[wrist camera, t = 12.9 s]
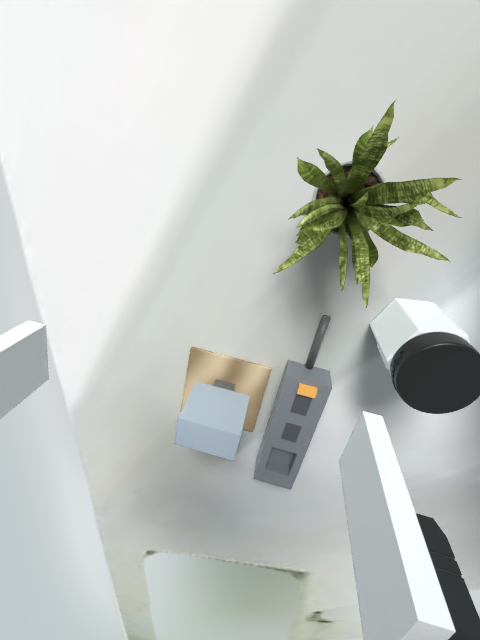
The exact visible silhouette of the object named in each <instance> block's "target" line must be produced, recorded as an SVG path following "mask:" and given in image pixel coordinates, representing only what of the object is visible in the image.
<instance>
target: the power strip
mask: <svg viewBox="0 0 480 640" xmlns="http://www.w3.org/2000/svg"><path fill="white" fill-rule="evenodd" d="M329 321H330V317H329V316H327V315H323V317H322V320H321V323H320V326H319V329H318V332H317V334H316V337H315V340H314V343H313V346H312V349H311V352H310V355H309V357H308V360H307V363H306V365H305V364H301V363H297V362H293V361H290V360H288V362H287V365H286V368H285V372H284V375H283V378H282V381H281V384H280V387H279V390H278V394H277V397H276V400H275V403H274V406H273V409H272V412H271V416H270V419H269V422H268V425H267V428H266V431H265V434H264V438H263V441H262V444H261V447H260V450H259V453H258V456H257V460H256V467H255V474H254V479H256V480H259V481H263V482H266V483H270V484H273V485H277V486H280V487H284V488H287V489H291V488H292V486H293V483H294V481H295V479H296V476H297V474H298V471H299V469H300V466H301V464H302V461H303V459H304V456H305V454H306V451H307V449H308V446H309V444H310V441H311V439H312V436H313V434H314V431H315V429H316V426H317V424H318V421H319V419H320V416H321V414H322V412H323V409H324V407H325V404H326V402H327V399H328V397H329V394H330V392H331V389H332V384H331V377H330V371H327V370H324V369H320V368H316V367H313V365H314V363H315V360H316V357H317V354H318V352H319V349H320V346H321V343H322V340H323V338H324V335H325V332H326V329H327V327H328V324H329Z"/></svg>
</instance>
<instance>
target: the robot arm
mask: <svg viewBox="0 0 480 640" xmlns="http://www.w3.org/2000/svg"><path fill="white" fill-rule="evenodd" d="M48 379H49V375H48V358H47V338H46V325H44V324H41V323H37V322H33V321H29V320H28V321H26V322H24V323H22V324H21V325H19V326H17V327H15V328H14V329H11V330H10V331H8V332H6V333H4V334H2V335H0V419H1V418H2V417H3V416H4V415H6V414H7V413H8V412H9V411H11V410H12V409H13V408H14V407H15V406H17V405H18V404H19V403H20V402H22V401H23V400H24V399H25V398H26V397H28V396H29V395H30V394H31V393H32V392H33V391H35V390H36V389H37V388H38V387H40V386H41V385H42V384H43V383H44V382H46V381H47V380H48ZM339 464H340V471H341V479H342V486H343V493H344V501H345V508H346V515H347V522H348V530H349V537H350V544H351V551H352V559H353V566H354V573H355V581H356V588H357V595H358V602H359V610H360V617H361V624H362V631H363V639H364V640H480V619H479V616H478V614H477V611H476V609H475V606H474V604H473V601H472V599H471V596H470V594H469V591H468V589H467V586H466V584H465V581H464V579H463V578H461V575H462V574H461V572H460V569H459V567H458V564H457V562H456V561H455V560H454V558H455V557H454V554H453V552H452V549H451V547H450V544H449V542H448V539H447V537H446V536H445V534H444V533H443V532H442V530H441V529H440V527H439V526H438V525H437V523H436V522H435V521H434V519H433V518H430V517H427V516H423V515H420V514H416V513H415V510H414V508H413V505H412V502H411V499H410V496H409V493H408V490H407V487H406V484H405V481H404V478H403V475H402V472H401V469H400V466H399V464H398V461H397V458H396V455H395V452H394V449H393V446H392V443H391V440H390V437H389V434H388V431H387V428H386V425H385V422H384V420H383V417H382V416H380V415H376V414H372V413H369V412H365V411H362V413H361V415H360V417H359V420H358V422H357V424H356V426H355V428H354V430H353V432H352V435H351V437H350V439H349V441H348V443H347V445H346V447H345V449H344V452H343V454H342V456H341V458H340V460H339Z"/></svg>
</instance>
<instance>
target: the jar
mask: <svg viewBox="0 0 480 640" xmlns="http://www.w3.org/2000/svg"><path fill="white" fill-rule="evenodd" d="M370 327H371V330H372V332H373V335H374V338H375V340H376V343H377V347H378V350H379V352H380V355H381V357H382V360H383V362H384V364H385V367H386V369H388V371H389V373H390V375H391V378H392V381H393V385H394V387H395V389H396V390H397V393H398V394H399V396H400V397H401V398H402V400H403V401H404V402H405V403H406V404H408V405H409V406H410V407H412V408H414V409H416V410H418V411H421V412H425V413H432V414H443V413H450V412H454V411H457V410H460V409H462V408H464V407H466V406H468V405H470V404H471V403H472V402H474V401H475V400H476V399H477V398H478V397H479V396H480V354H479V353H478V351H477V350H476V349H475V348H474V347H473V346H472V345H471V344H470V341H469V337H468V335H467V334H466V333H465V332H464V331H463V330H462V329H461V328H460V327H459V326H458V325H457V324H456V323H454V322H453V321H452V320H451V319H450V318H449V317H448V316H447V315H446V314H445V313H444V312H443V311H442V310H441V309H440V308H439V307H438V306H437V305H436V304H435V303H434V302H427V301H418V300H409V299H400V298H395V299H394V300H393V301H392V302H391V303H390V304H389V305H388V306H387V307H386V308H385V309H384V310H383V311H382V312H381V313H380V314H379V315H378V316H377V317H376V318H375V319H374V320H373V321H372V322H371V323H370Z"/></svg>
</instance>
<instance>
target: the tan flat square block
mask: <svg viewBox="0 0 480 640" xmlns="http://www.w3.org/2000/svg"><path fill="white" fill-rule="evenodd" d="M270 371H271V368H269V367H266V366H262V365H258V364H254V363H251V362H247V361H243V360H239V359H236V358H232V357H228V356H224V355H221V354H217V353H213V352H210V351H206V350H202V349H198V348H195V347H191V350H190V356H189V362H188V368H187V374H186V380H185V387H184V393H183V399H182V405H181V411H182V409H183V407H184V405H185V403H186V401H187V399H188V397H189V395H190V393H191V391H192V389H193V387H194V385H195V383H196V381H198V382H201V383H205V384H208V385H212V386H213V385H214V382H215V380H216V379H217V380H221V381H225V382H228V383H232V384H235V387H234V392H238V393H241V394H245V395H249V396H250V397H249V402H248V406H247V411H246V415H245V420H244V424H243V429H244V430H247V431H251V432H253V429H254V425H255V422H256V418H257V415H258V412H259V408H260V405H261V401H262V398H263V395H264V391H265V388H266V385H267V381H268V378H269V374H270ZM181 411H180V412H181Z"/></svg>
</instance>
